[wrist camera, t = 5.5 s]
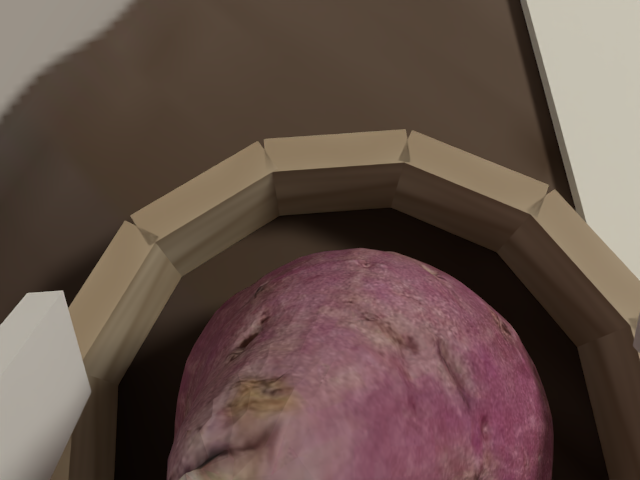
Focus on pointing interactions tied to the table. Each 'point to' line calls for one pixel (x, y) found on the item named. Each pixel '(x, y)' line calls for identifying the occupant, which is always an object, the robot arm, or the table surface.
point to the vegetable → (360, 380)
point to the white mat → (595, 109)
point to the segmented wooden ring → (357, 194)
